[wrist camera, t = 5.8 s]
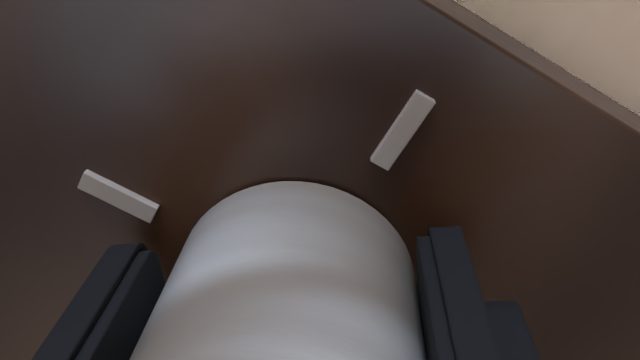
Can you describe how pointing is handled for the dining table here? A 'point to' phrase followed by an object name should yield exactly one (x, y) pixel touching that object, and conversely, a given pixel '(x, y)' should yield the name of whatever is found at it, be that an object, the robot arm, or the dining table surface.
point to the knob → (288, 283)
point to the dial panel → (313, 147)
